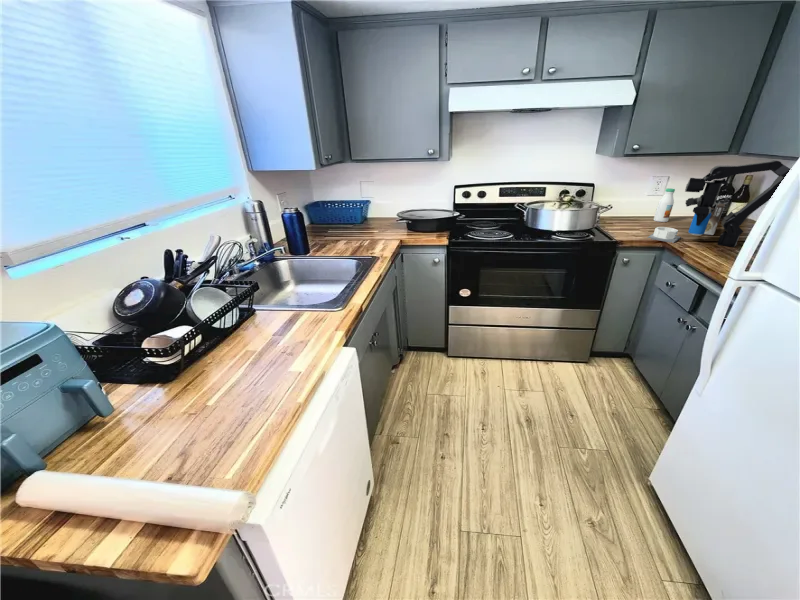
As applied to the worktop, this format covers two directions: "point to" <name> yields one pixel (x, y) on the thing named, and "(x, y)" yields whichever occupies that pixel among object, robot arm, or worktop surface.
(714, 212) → the coffee box
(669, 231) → the socket
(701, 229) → the beverage can
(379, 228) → the worktop surface
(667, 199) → the milk bottle
